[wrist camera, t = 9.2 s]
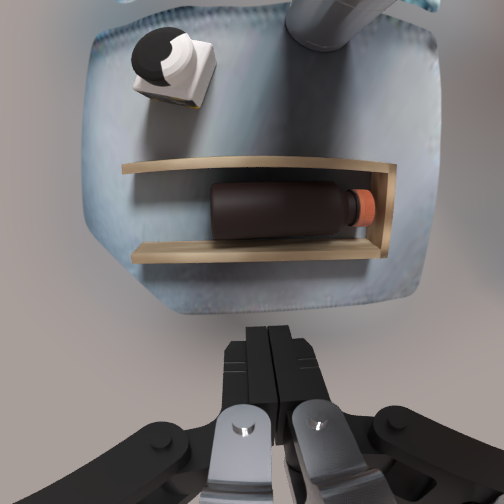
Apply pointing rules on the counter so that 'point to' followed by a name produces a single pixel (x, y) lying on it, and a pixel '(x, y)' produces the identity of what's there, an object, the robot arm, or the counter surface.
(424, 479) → the robot arm
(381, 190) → the u rest
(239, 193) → the vinegar
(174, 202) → the counter surface
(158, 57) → the medicine bottle
